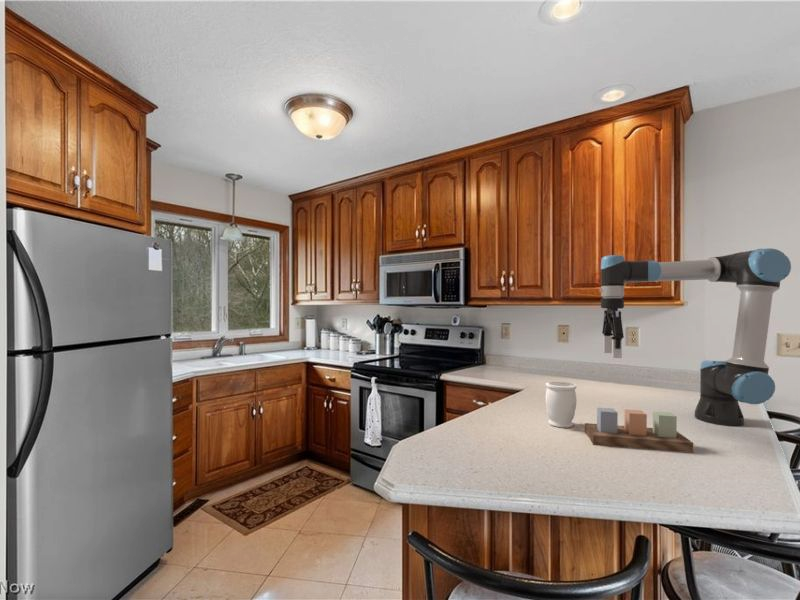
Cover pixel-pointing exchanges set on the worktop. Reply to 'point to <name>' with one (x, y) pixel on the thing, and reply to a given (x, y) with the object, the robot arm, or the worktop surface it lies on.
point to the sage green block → (664, 424)
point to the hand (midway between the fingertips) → (612, 355)
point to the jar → (560, 403)
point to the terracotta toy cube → (635, 422)
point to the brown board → (638, 440)
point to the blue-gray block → (607, 420)
